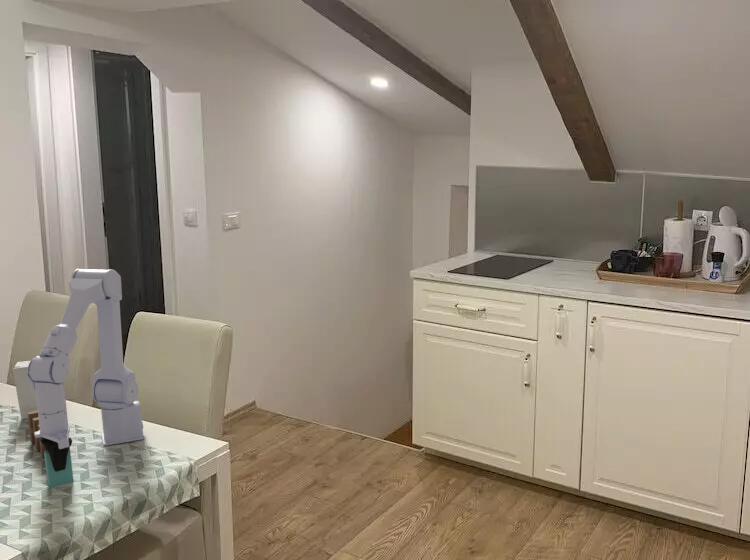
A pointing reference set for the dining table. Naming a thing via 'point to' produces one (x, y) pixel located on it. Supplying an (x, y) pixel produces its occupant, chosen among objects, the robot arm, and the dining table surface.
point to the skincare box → (24, 389)
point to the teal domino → (58, 476)
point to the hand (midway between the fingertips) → (58, 468)
